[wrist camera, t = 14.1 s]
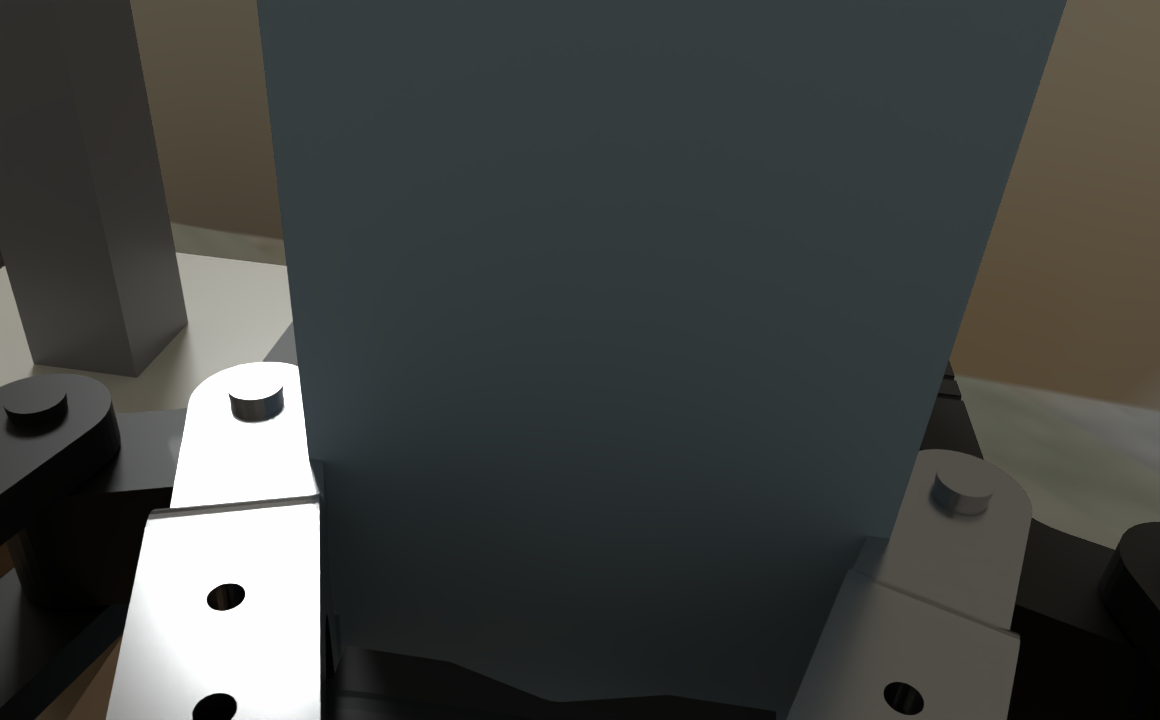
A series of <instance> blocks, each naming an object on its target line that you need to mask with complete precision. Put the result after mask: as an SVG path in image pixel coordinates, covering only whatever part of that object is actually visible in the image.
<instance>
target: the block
mask: <svg viewBox="0 0 1160 720" xmlns="http://www.w3.org/2000/svg"><path fill="white" fill-rule="evenodd" d="M1066 1H1067V0H257V8H258V16H259V25H260V34H261V42H262V51H263V61H264V70H265V78H266V88H267V96H268V105H269V114H270V123H271V132H272V141H273V149H274V158H275V167H276V176H277V185H278V194H279V202H280V212H281V220H282V229H283V238H284V247H285V256H286V265H287V274H288V283H289V292H290V301H291V309H292V318H293V327H294V336H295V345H296V354H297V363H298V372H299V380H300V389H301V398H302V407H303V416H304V425H305V434H306V443H307V451H308V458H310V459H317V460H323V461H324V471H325V481H326V491H327V505H328V550H329V567H330V580H331V590H332V599H333V609H334V615H339V618H340V628H341V638H342V651H343V652H344V650H345V648H346V646H351V647H357V648H364V649H370V650H377V651H384V652H390V653H397V654H403V655H410V656H416V657H423V658H429V659H436V660H443V661H449V662H452V663H454V664H457V665H459V666H462V667H464V668H467V669H469V670H472V671H474V672H477V673H479V674H482V675H485V676H487V677H490V678H492V679H495V680H497V681H500V682H502V683H505V684H507V685H510V686H512V687H515V688H517V689H520V690H522V691H525V692H527V693H530V694H532V695H535V696H537V697H540V698H543V699H546V700H549V701H555V702H570V701H585V700H599V699H614V698H628V697H643V696H657V695H672V696H679V697H686V698H692V699H699V700H705V701H712V702H718V703H725V704H732V705H738V706H745V707H751V708H758V709H764V710H771V711H776V720H786V719H787V717H788V714H789V712H790V709H791V707H792V704H793V702H794V700H795V697H796V695H797V692H798V690H799V687H800V685H801V683H802V680H803V678H804V675H805V673H806V670H807V668H808V666H809V663H810V661H811V658H812V656H813V653H814V651H815V649H816V646H817V644H818V641H819V639H820V636H821V634H822V632H823V629H824V627H825V624H826V622H827V619H828V617H829V615H830V612H831V610H832V607H833V605H834V603H835V600H836V598H837V595H838V593H839V590H840V588H841V586H842V583H843V581H844V578H845V576H846V574H847V572H848V570H849V568H851V569H853V568H854V566H855V563H856V561H857V558H858V556H859V553H860V551H861V549H862V546H863V544H864V541H865V539H866V536H874V537H881V538H889V539H890V537H891V534H892V531H893V528H894V525H895V522H896V519H897V516H898V513H899V510H900V507H901V504H902V501H903V498H904V495H905V492H906V489H907V486H908V483H909V480H910V477H911V473H912V470H913V467H914V464H915V461H916V458H917V455H918V452H919V449H920V446H921V443H922V440H923V437H924V434H925V431H926V428H927V425H928V422H929V419H930V416H931V413H932V409H933V406H934V403H935V400H936V397H937V394H938V391H939V388H940V385H941V382H942V379H943V376H944V373H945V370H946V367H947V364H948V361H949V358H950V355H951V351H952V348H953V345H954V342H955V339H956V336H957V333H958V330H959V327H960V324H961V321H962V318H963V315H964V312H965V309H966V306H967V303H968V300H969V297H970V294H971V291H972V288H973V285H974V282H975V278H976V275H977V272H978V269H979V266H980V263H981V260H982V257H983V254H984V251H985V248H986V245H987V241H988V239H989V235H990V233H991V230H992V227H993V224H994V221H995V218H996V214H997V211H998V208H999V205H1000V202H1001V199H1002V196H1003V193H1004V190H1005V187H1006V184H1007V181H1008V178H1009V175H1010V172H1011V169H1012V166H1013V163H1014V160H1015V157H1016V153H1017V151H1018V148H1019V144H1020V141H1021V138H1022V135H1023V132H1024V129H1025V126H1026V123H1027V120H1028V117H1029V114H1030V111H1031V108H1032V105H1033V102H1034V99H1035V96H1036V93H1037V89H1038V86H1039V84H1040V80H1041V77H1042V74H1043V71H1044V68H1045V65H1046V62H1047V59H1048V56H1049V53H1050V50H1051V47H1052V44H1053V41H1054V38H1055V34H1056V31H1057V28H1058V26H1059V23H1060V20H1061V17H1062V13H1063V10H1064V7H1065V4H1066Z"/></svg>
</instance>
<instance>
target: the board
mask: <svg viewBox="0 0 1160 720" xmlns="http://www.w3.org/2000/svg"><path fill="white" fill-rule="evenodd" d="M13 568H15V567H14V565H13V562H12V559H11V556H10V553H9V550H8V548H7V545H6V542H5V543H4V544H3V545H1V546H0V579H1V578H2V577H3V576H5V575H6V574H7V573H8V572H10V571H11V570H12V569H13ZM123 634H124V633H123ZM123 634H122V635H121V636H120V637H118V638H117V639H116V640H115V641H114V642H113V643H112V644H111V645H110V646H109V647H108V648H107V649H106V650H105V651H104V652H103V653H102V654H101V655H100V656H99V657H98V658H97V659H96V660H95V661H94V662H93V663H92V664H91V665H90V666H89V667H88V668H87V669H86V670H85V671H84V672H83V673H82V674H81V675H80V676H79V677H78V678H77V679H76V680H75V681H73V682H72V683H71V684H70V685H69V686H68V687H67V688H66V689H65V690H64V691H63V692H62V693H61V694H60V695H59V696H58V697H57V698H56V699H55V700H54V701H53V702H52V703H51V704H50V705H49V706H48V707H47V708H46V709H45V710H44V711H43V712H42V713H41V714H40V715H39V716H38V717H37V718H36V719H35V720H106V716H107V711H108V706H109V701H110V697H111V692H112V687H113V682H114V677H115V672H116V667H117V663H118V658H119V653H120V648H121V643H122V638H123Z"/></svg>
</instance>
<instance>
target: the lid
mask: <svg viewBox="0 0 1160 720" xmlns="http://www.w3.org/2000/svg"><path fill="white" fill-rule="evenodd" d="M0 250H1V254H2V257H3V261H4V264H5V266H4V267H2V268H1V269H0V387H1V386H4V385H6V384H8V383H11V382H14V381H17V380H20V379H24V378H28V377H32V376H38V375H44V374H55V373H69V374H78V375H83V376H87V377H90V378H93V379H95V380H98V381H99V382H101V383H102V384H104V385H105V386H106V388H107V389H108V390H109V392H110V394H111V398H112V402H113V406H114V410H115V414H120V413H134V412H148V411H162V410H174V409H183V408H188V406H189V401H190V399H191V396H192V394H193V392H194V391H195V389H196V388H197V387H198V386H199V385H200V384H201V383H202V382H204V381H205V380H207V379H208V378H209V377H211V376H213V375H215V374H217V373H219V372H221V371H223V370H226V369H229V368H232V367H235V366H239V365H244V364H249V363H258V362H262V361H263V360H264V358H265V357H266V356H267V354H268V353H269V352H270V350H271V349H272V348H273V346H274V345H275V344H276V342H277V341H278V340H279V338H280V337H281V336H282V334H283V333H284V332H285V330H286V329H287V328H288V327H289V325H290V324H291V323H292V321H293V318H292V309H291V301H290V292H289V283H288V274H287V266H281V265H272V264H264V263H256V262H248V261H240V260H232V259H224V258H216V257H207V256H199V255H191V254H183V253H176V252H175V247H174V241H173V236H172V230H171V225H170V219H169V214H168V208H167V203H166V197H165V192H164V186H163V181H162V175H161V170H160V164H159V159H158V154H157V148H156V142H155V137H154V131H153V126H152V120H151V115H150V109H149V104H148V99H147V93H146V87H145V82H144V76H143V71H142V66H141V60H140V54H139V49H138V43H137V38H136V33H135V27H134V22H133V16H132V10H131V5H130V0H0Z"/></svg>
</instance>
